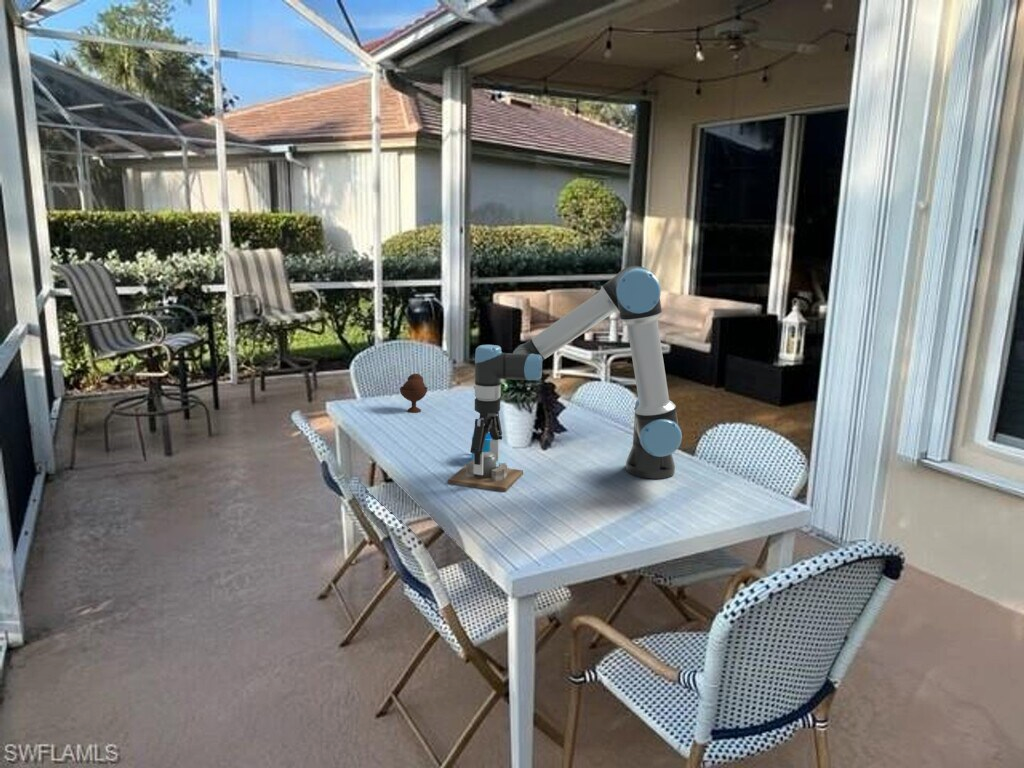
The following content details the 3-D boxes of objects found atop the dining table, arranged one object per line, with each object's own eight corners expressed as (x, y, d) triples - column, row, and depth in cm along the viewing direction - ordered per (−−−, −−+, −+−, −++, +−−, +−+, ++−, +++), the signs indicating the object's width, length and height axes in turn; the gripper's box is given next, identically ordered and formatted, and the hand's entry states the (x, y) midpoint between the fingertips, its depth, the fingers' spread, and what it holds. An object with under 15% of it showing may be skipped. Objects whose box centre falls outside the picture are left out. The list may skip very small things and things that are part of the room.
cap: (498, 472, 226) (499, 452, 224) (491, 479, 220) (492, 458, 219) (480, 470, 227) (480, 450, 226) (472, 476, 222) (473, 456, 220)
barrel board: (523, 474, 229) (523, 461, 228) (505, 491, 214) (506, 477, 213) (468, 466, 234) (468, 453, 233) (448, 483, 219) (448, 469, 218)
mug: (500, 462, 239) (501, 438, 237) (477, 465, 235) (477, 441, 233) (486, 451, 249) (486, 428, 247) (463, 454, 246) (463, 430, 244)
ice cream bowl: (397, 408, 300) (397, 372, 297) (425, 406, 304) (425, 370, 300) (402, 415, 290) (401, 377, 287) (430, 413, 294) (430, 376, 290)
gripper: (490, 387, 231) (489, 453, 236) (459, 406, 208) (458, 478, 213) (513, 390, 229) (511, 456, 233) (484, 409, 206) (483, 482, 210)
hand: (486, 467), depth 223 cm, fingers open, 13 cm apart
